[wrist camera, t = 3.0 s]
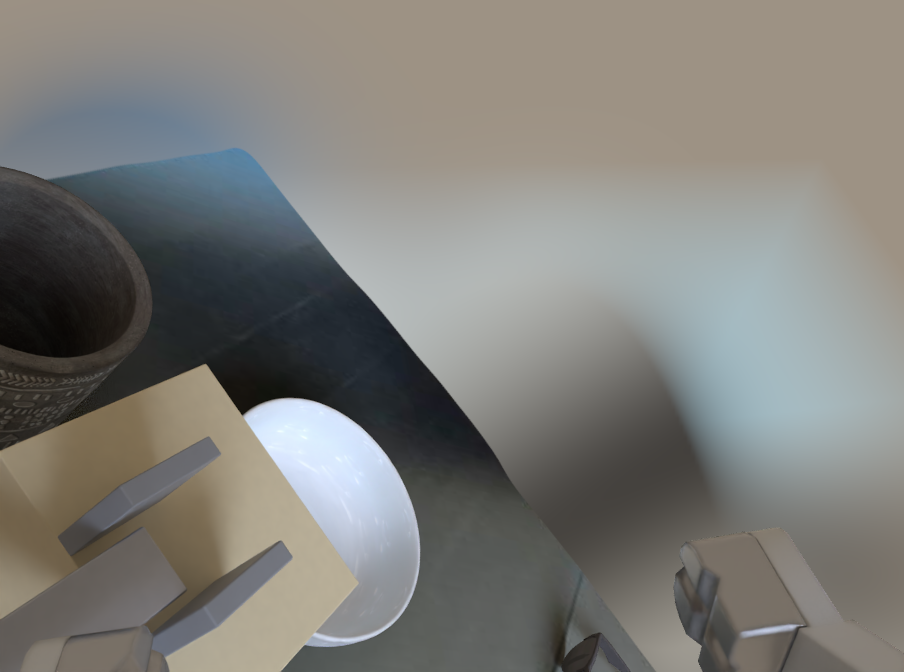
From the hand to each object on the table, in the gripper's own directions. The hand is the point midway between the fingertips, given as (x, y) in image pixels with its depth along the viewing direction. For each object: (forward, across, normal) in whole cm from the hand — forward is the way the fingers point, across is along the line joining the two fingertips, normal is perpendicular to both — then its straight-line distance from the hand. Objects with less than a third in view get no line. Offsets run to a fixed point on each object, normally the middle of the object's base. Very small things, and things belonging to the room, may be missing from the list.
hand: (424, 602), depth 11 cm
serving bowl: (+35, -12, -41) cm, 55 cm away
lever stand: (+17, -27, -28) cm, 42 cm away
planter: (+34, -31, -20) cm, 50 cm away
